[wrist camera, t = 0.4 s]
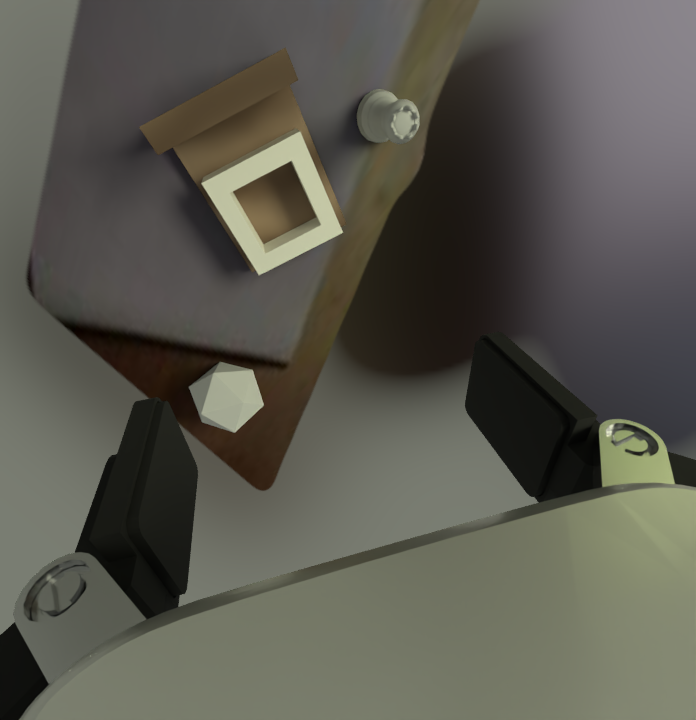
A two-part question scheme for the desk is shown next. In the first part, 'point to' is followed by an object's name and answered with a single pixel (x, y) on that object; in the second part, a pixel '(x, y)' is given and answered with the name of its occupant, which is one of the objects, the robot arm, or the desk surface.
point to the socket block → (251, 169)
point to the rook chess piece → (387, 117)
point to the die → (226, 396)
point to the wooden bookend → (245, 144)
